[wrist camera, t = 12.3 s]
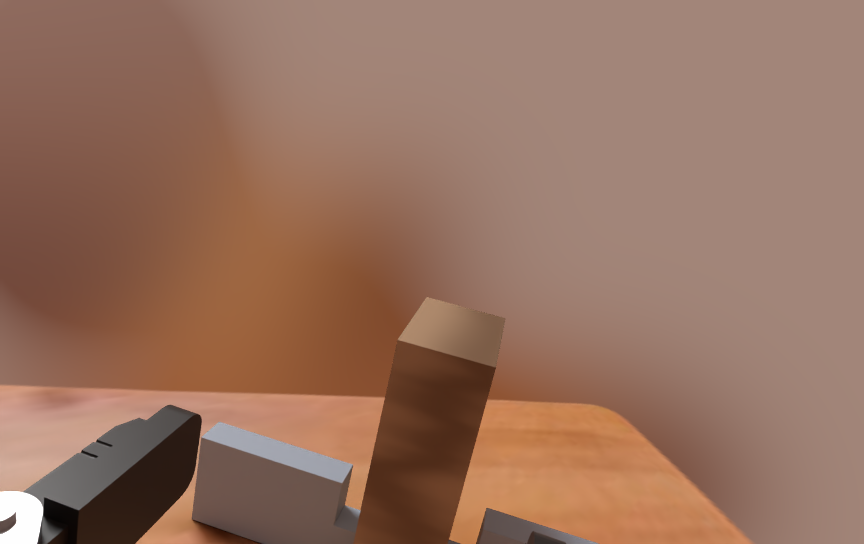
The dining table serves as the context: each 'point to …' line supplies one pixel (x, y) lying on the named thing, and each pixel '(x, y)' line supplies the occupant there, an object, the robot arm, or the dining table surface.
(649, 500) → the dining table surface
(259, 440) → the slate rail
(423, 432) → the walnut block
